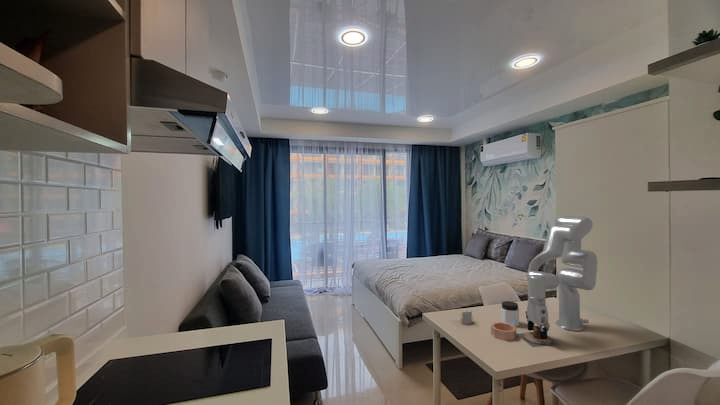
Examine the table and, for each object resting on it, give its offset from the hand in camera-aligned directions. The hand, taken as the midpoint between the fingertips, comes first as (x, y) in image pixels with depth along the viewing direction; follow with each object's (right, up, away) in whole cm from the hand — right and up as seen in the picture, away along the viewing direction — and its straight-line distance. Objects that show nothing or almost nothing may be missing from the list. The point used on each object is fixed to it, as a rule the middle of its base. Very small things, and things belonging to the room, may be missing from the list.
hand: (537, 334), depth 153 cm
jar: (-4, -3, +19) cm, 19 cm away
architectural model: (-27, -4, +22) cm, 36 cm away
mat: (0, -3, 0) cm, 3 cm away
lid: (0, -2, 0) cm, 2 cm away
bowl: (-14, -3, +5) cm, 16 cm away
